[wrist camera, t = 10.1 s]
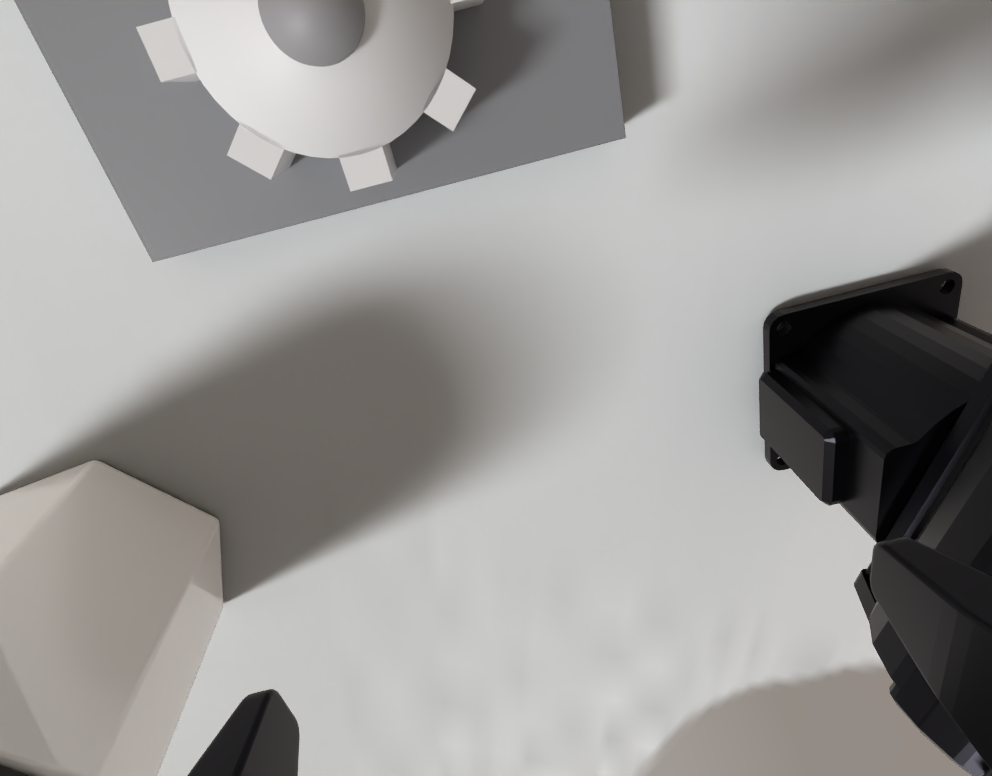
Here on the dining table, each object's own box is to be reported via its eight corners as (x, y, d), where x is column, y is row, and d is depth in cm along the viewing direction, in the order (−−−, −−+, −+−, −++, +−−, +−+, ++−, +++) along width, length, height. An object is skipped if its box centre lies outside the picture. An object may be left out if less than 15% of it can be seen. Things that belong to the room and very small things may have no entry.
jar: (151, 428, 20) (-170, 832, 9) (276, 588, 24) (151, 1003, 13) (-78, 516, 20) (-621, 984, 10) (80, 657, 24) (-191, 1104, 14)
